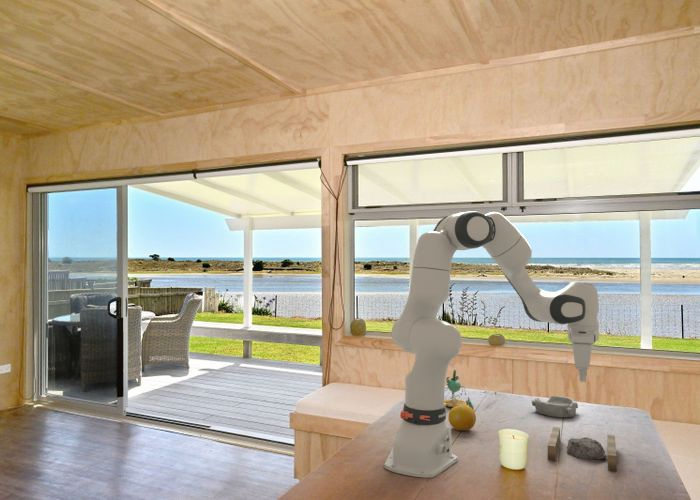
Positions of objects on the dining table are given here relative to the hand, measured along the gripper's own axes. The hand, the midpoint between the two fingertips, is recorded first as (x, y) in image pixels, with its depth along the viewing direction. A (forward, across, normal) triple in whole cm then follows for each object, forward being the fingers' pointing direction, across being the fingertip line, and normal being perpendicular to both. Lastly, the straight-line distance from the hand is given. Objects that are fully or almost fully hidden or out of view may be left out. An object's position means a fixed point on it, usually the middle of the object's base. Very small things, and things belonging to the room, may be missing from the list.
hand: (583, 378), depth 155 cm
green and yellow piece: (+19, -19, -45) cm, 53 cm away
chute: (+19, +12, 0) cm, 23 cm away
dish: (+20, -28, -10) cm, 36 cm away
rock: (+20, +11, +1) cm, 22 cm away
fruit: (+19, +7, -36) cm, 41 cm away
